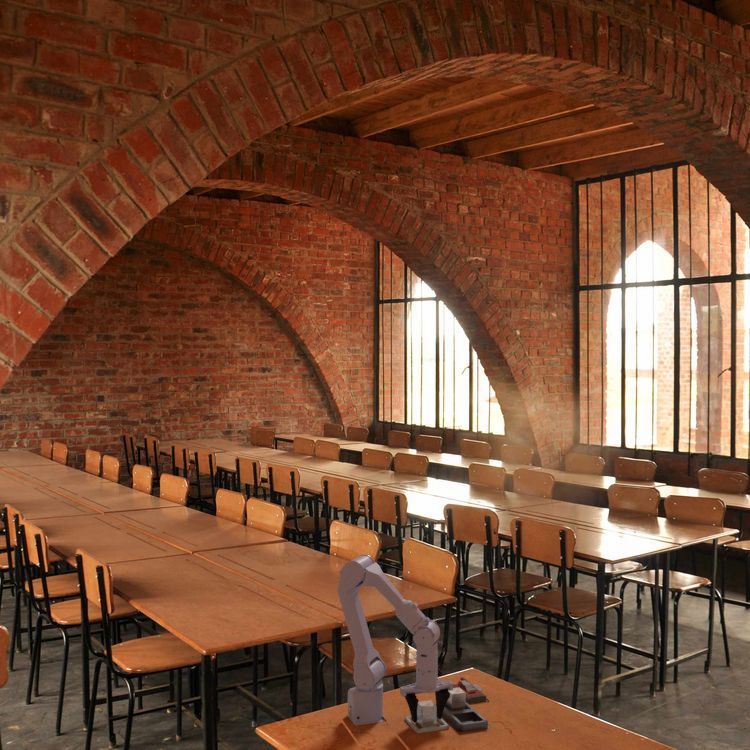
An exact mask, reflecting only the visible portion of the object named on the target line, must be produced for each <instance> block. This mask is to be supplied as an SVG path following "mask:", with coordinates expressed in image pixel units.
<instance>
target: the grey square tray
mask: <svg viewBox="0 0 750 750" xmlns="http://www.w3.org/2000/svg"><path fill="white" fill-rule="evenodd" d="M404 721H405V722H406V724H408V725H409V726H410V727H411V729H412V730H413V731H414V732H415V733H416V734H421V733H422V734H423V733H431V732H435V731H444V730H449V729H450V724H449V723H447V721H446V720H445V719H444V718H442V719H438V718H437V722H439V723H440V724H441V725H436V726H434V727H427V728H422V727H421V728H418V727H417V725H416V724H415V723H414V722H413V721H412V718H411V715H406V716H404Z"/></svg>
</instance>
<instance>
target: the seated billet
mask: <svg viewBox="0 0 750 750" xmlns="http://www.w3.org/2000/svg"><path fill="white" fill-rule="evenodd" d="M448 692H449V693H450V697H449V699H448V701H447V703H446V708H447V709H448V710H449V711H450V712H452V711H459V710H465V698H466V693H465V692H464V691H463V690H462V689H461V688H460V687H458V688H453V690H451V691H449V690H448Z"/></svg>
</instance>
